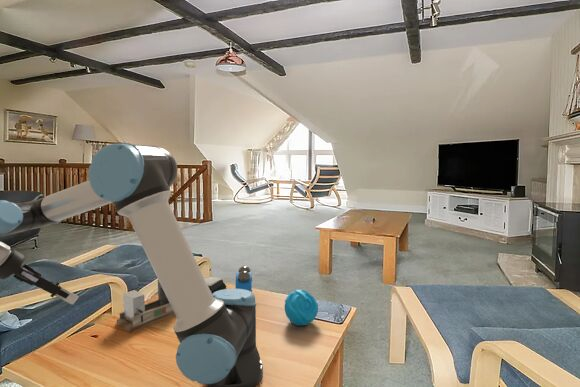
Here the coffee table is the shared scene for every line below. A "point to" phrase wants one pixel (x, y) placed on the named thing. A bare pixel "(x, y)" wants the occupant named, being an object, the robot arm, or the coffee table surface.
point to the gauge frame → (149, 313)
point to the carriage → (133, 304)
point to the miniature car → (215, 284)
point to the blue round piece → (301, 307)
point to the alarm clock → (244, 278)
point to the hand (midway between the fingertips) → (74, 300)
